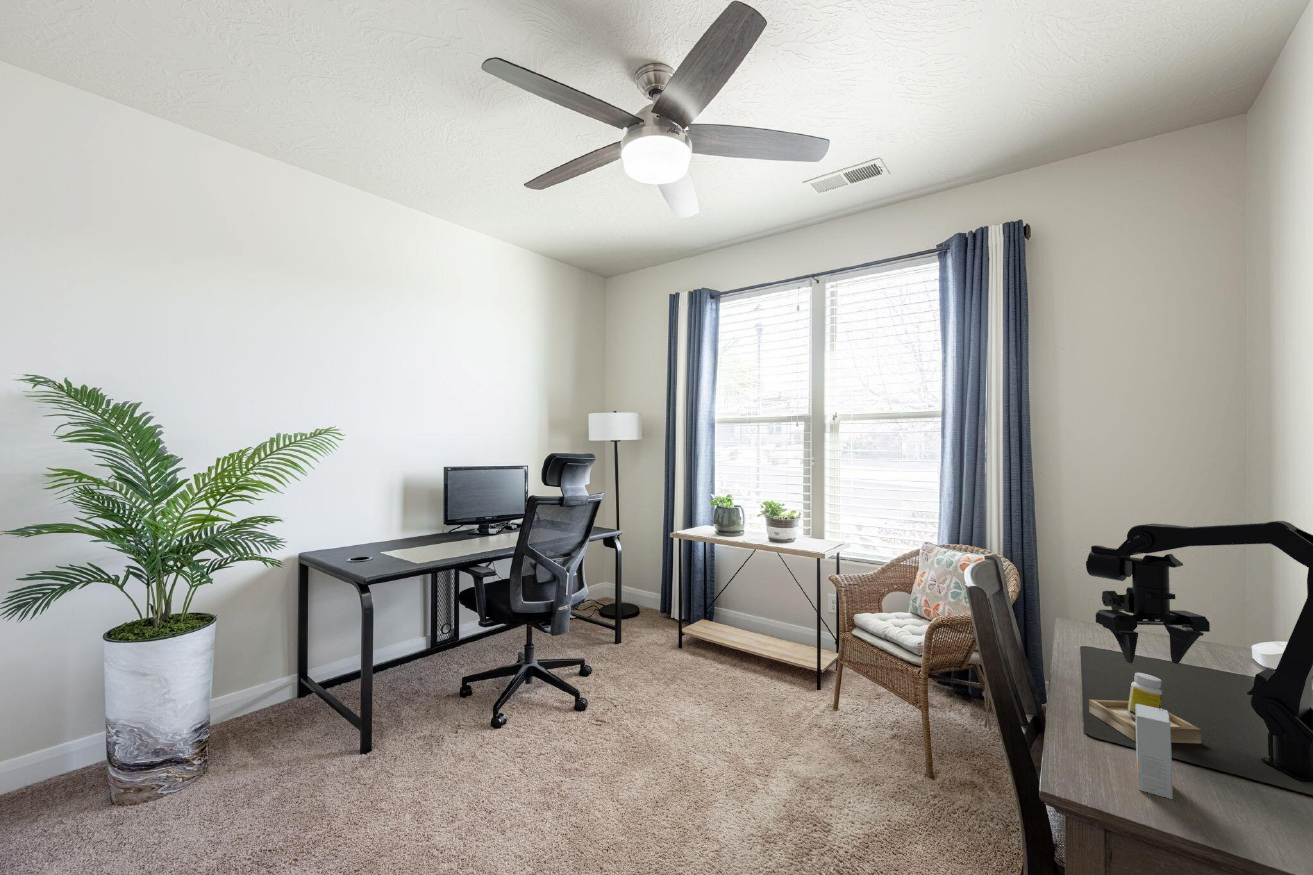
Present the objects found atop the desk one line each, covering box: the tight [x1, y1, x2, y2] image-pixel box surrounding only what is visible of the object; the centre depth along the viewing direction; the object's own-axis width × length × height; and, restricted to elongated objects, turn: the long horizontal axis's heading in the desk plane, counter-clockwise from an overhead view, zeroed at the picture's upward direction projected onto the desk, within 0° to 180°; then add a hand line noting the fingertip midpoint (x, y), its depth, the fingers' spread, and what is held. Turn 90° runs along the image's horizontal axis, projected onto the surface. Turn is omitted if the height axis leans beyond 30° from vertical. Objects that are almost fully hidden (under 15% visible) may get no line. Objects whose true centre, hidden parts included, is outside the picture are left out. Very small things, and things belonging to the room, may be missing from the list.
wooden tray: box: [1088, 699, 1202, 744], centre depth 112 cm, size 12×12×3 cm
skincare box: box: [1135, 704, 1174, 800], centre depth 91 cm, size 6×4×12 cm
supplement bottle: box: [1128, 672, 1163, 718], centre depth 112 cm, size 5×5×8 cm
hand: (1152, 662), depth 114 cm, fingers open, 9 cm apart
